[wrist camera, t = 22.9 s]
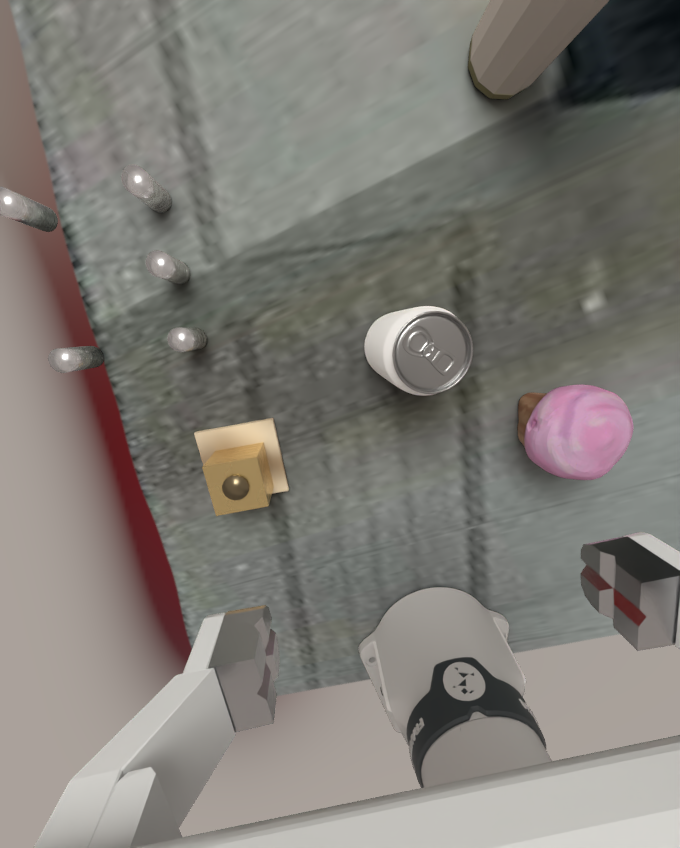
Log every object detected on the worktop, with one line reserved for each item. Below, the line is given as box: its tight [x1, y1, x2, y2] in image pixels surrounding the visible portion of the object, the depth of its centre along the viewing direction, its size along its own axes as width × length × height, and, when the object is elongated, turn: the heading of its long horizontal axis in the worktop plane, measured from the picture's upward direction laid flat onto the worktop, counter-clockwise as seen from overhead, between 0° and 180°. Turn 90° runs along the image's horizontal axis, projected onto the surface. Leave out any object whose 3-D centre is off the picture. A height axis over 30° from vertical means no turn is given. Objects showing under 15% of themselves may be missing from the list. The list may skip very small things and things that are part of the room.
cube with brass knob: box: [202, 442, 274, 516], centre depth 36 cm, size 5×5×5 cm
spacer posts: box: [0, 165, 207, 373], centre depth 31 cm, size 14×12×4 cm
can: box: [364, 306, 473, 396], centre depth 31 cm, size 6×6×12 cm
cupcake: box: [518, 385, 633, 480], centre depth 35 cm, size 9×9×10 cm
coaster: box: [194, 418, 289, 494], centre depth 38 cm, size 8×8×1 cm
